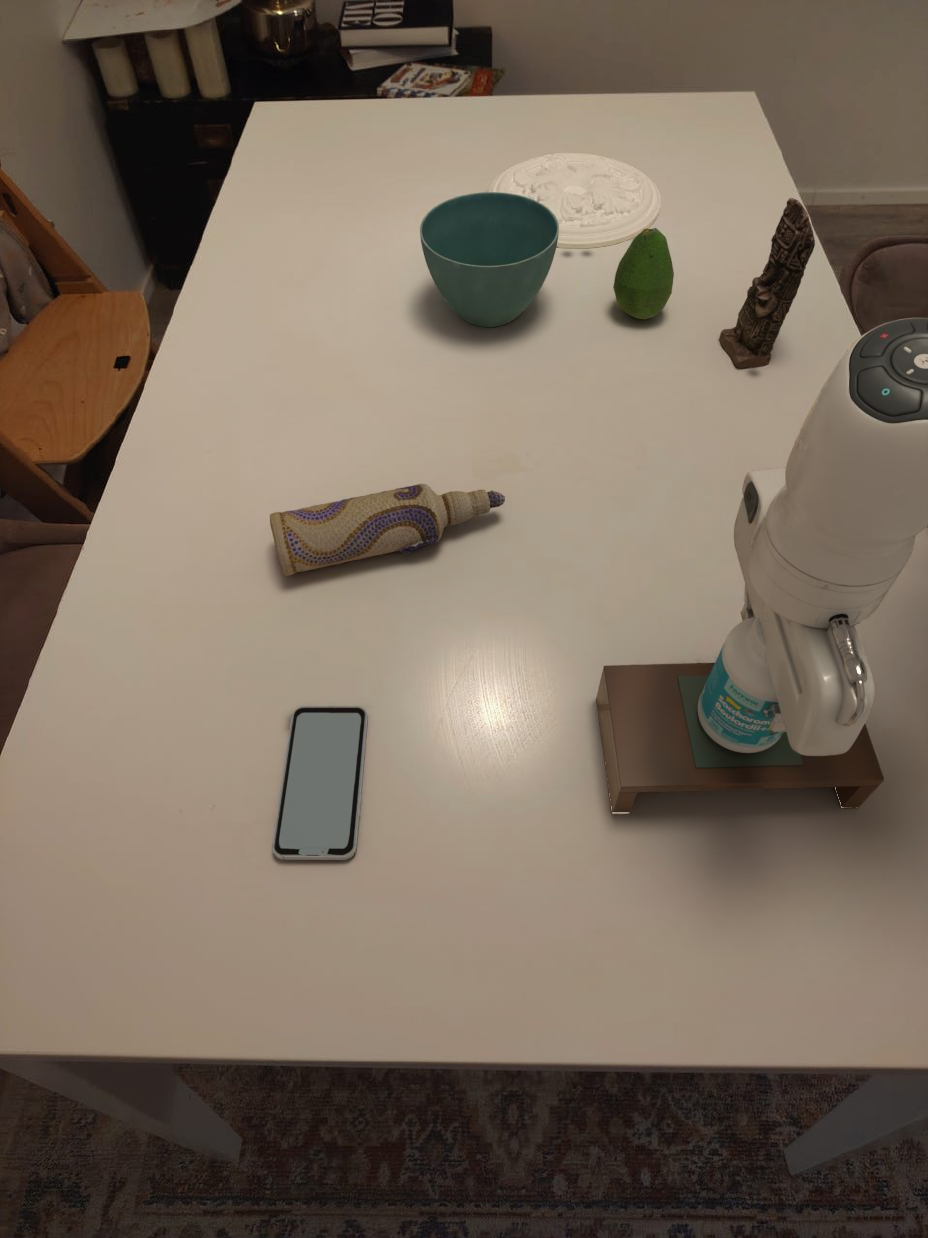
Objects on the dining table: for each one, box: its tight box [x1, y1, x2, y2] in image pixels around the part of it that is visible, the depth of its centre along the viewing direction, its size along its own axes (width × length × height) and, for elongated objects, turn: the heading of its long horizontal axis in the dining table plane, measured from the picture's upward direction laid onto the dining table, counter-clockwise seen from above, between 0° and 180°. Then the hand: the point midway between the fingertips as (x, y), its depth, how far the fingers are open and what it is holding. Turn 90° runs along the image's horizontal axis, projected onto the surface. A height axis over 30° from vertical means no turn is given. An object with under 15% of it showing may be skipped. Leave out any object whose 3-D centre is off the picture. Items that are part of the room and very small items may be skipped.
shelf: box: [595, 662, 885, 813], centre depth 74 cm, size 22×12×6 cm, turn 91°
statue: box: [718, 197, 816, 369], centre depth 103 cm, size 7×7×20 cm
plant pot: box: [419, 191, 559, 328], centre depth 113 cm, size 18×18×12 cm
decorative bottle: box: [269, 483, 506, 576], centre depth 90 cm, size 26×8×7 cm, turn 105°
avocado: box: [612, 227, 675, 320], centre depth 112 cm, size 8×8×12 cm
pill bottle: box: [698, 617, 784, 753], centre depth 66 cm, size 8×7×14 cm
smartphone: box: [271, 705, 369, 861], centre depth 75 cm, size 7×1×15 cm
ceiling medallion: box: [487, 152, 662, 250], centre depth 133 cm, size 28×28×3 cm
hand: (765, 670), depth 66 cm, fingers open, 8 cm apart
